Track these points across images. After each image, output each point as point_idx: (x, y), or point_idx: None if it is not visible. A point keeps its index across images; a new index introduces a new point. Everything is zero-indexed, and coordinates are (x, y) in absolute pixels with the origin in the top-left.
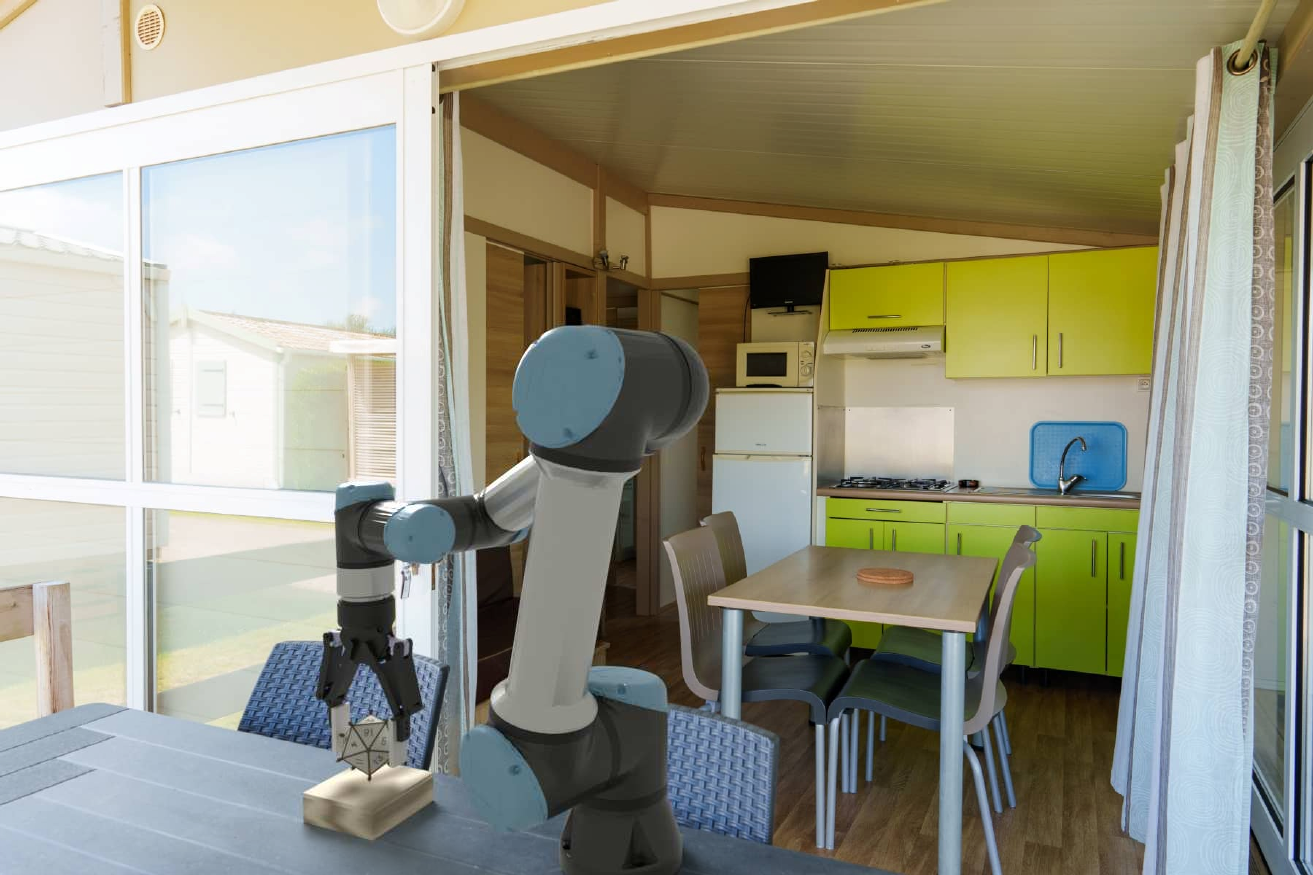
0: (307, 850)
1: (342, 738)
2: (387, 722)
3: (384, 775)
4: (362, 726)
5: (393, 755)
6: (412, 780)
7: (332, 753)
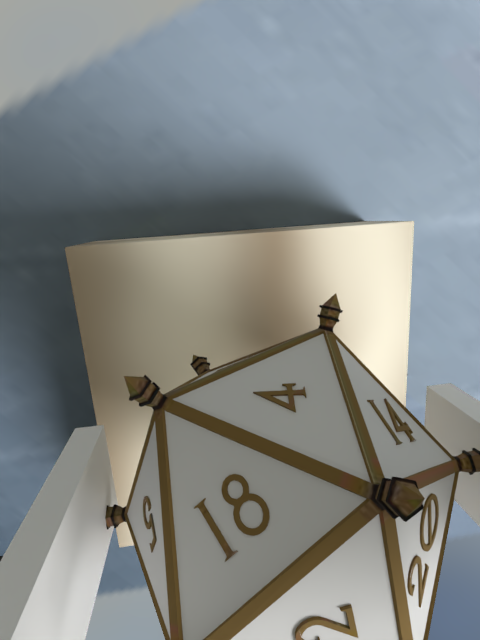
0: (222, 102)
1: None
2: None
3: None
4: (306, 535)
5: (54, 467)
6: (133, 476)
7: (452, 385)
